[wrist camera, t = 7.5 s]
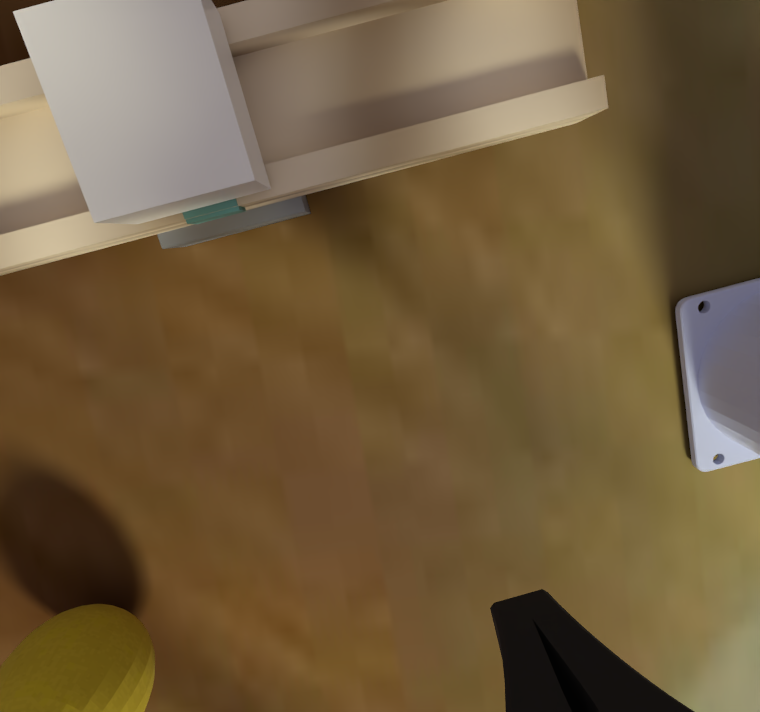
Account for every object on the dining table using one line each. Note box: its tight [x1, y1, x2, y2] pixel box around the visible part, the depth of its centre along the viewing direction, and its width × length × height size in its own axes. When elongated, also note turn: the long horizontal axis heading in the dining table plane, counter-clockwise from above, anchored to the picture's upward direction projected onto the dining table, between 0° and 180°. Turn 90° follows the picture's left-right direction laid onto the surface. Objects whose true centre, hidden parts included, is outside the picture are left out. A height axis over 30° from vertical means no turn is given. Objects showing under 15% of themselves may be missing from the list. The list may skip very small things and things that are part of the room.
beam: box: [0, 0, 608, 276], centre depth 16 cm, size 24×6×7 cm, turn 104°
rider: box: [13, 0, 271, 224], centre depth 13 cm, size 4×5×4 cm
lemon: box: [0, 604, 155, 712], centre depth 19 cm, size 6×6×8 cm
